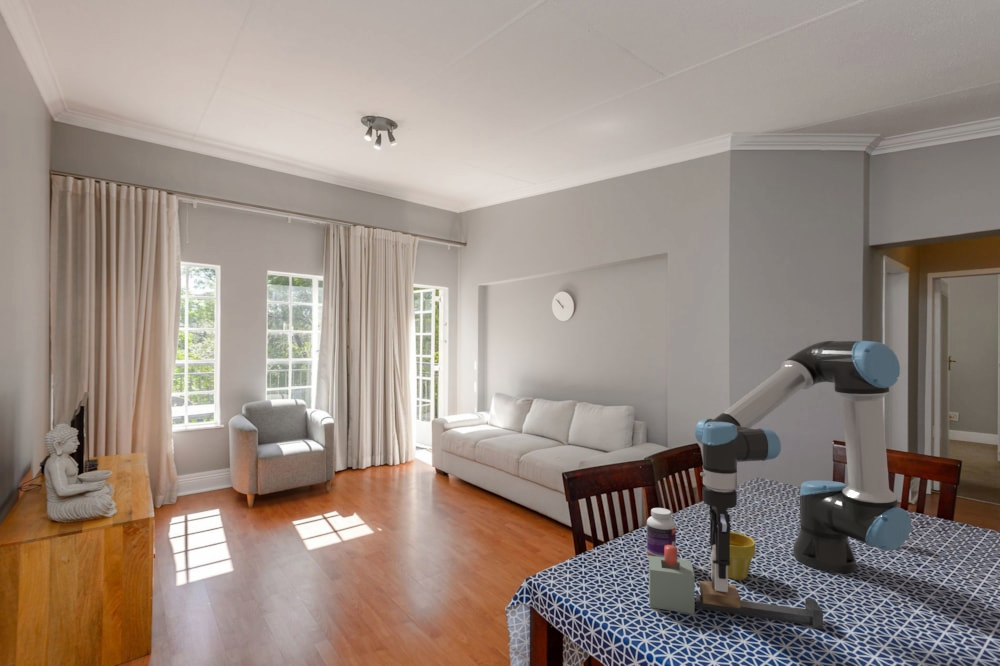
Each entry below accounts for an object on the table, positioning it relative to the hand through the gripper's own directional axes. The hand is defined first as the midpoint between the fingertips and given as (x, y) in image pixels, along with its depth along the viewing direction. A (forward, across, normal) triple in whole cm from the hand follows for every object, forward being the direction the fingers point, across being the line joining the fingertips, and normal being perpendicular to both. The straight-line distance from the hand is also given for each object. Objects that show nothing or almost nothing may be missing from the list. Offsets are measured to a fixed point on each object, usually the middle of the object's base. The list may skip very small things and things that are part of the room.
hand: (719, 584), depth 116 cm
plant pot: (+6, -20, +7) cm, 22 cm away
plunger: (-4, 0, -11) cm, 12 cm away
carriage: (+3, 0, 0) cm, 3 cm away
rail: (+6, 0, +7) cm, 9 cm away
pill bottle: (+6, -23, -12) cm, 27 cm away
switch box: (+6, 0, -11) cm, 12 cm away
